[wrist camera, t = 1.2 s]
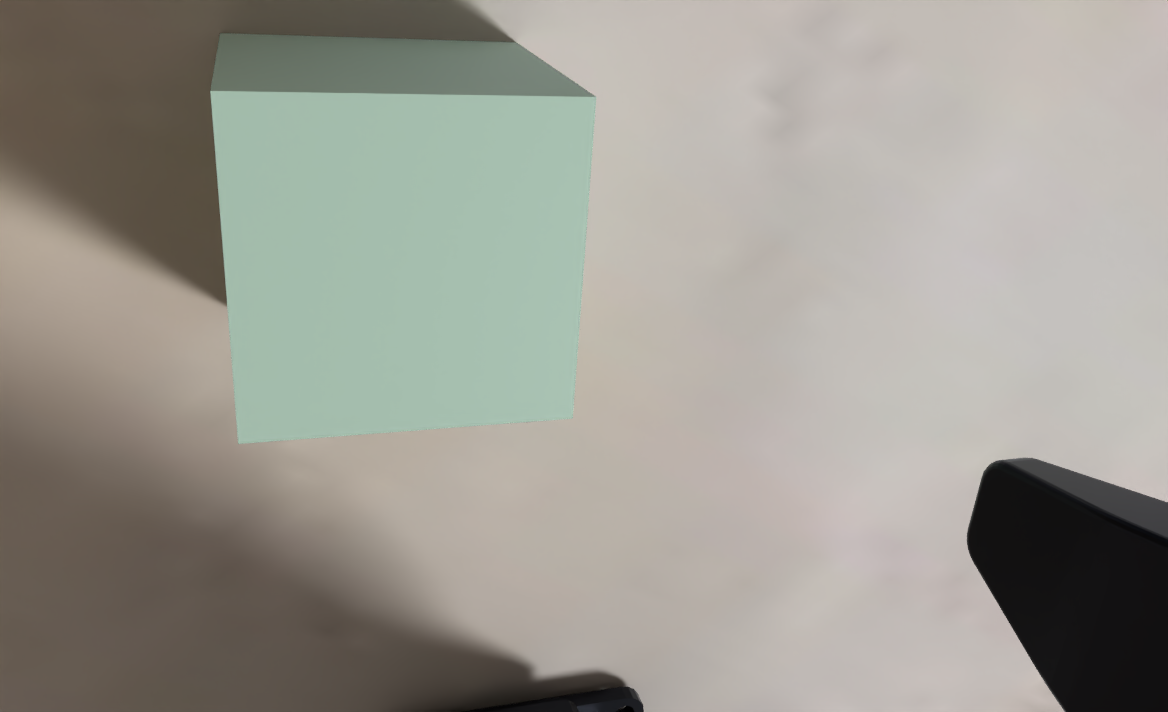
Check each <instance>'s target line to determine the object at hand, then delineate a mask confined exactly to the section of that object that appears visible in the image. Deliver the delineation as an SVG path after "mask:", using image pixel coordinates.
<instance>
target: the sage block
mask: <svg viewBox="0 0 1168 712" xmlns="http://www.w3.org/2000/svg"><path fill="white" fill-rule="evenodd" d="M210 93H211V106H212V119H213V131H214V144H215V156H216V169H217V182H218V194H219V207H220V220H221V232H222V245H223V257H224V270H225V283H226V295H227V308H228V321H229V333H230V346H231V359H232V371H233V384H234V396H235V409H236V422H237V434H238V444H243V443H256V442H270V441H283V440H296V439H309V438H322V437H335V436H348V435H361V434H375V433H388V432H401V431H414V430H427V429H440V428H453V427H467V426H480V425H493V424H506V423H519V422H532V421H545V420H558V419H572V418H573V406H574V393H575V379H576V365H577V352H578V338H579V324H580V311H581V297H582V284H583V270H584V256H585V243H586V229H587V215H588V202H589V188H590V174H591V161H592V147H593V134H594V120H595V106H596V97H595V96H594V95H593V94H591V93H590V92H588V91H587V90H585V89H584V88H582V87H581V86H579V85H578V84H576V83H575V82H574V81H572V80H571V79H569V78H568V77H566V76H565V75H563V74H562V73H560V72H559V71H557V70H556V69H554V68H553V67H552V66H550V65H549V64H547V63H546V62H544V61H543V60H541V59H540V58H538V57H537V56H535V55H534V54H533V53H531V52H530V51H528V50H527V49H525V48H524V47H522V46H521V45H519V44H518V43H516V42H492V41H459V40H427V39H394V38H361V37H329V36H296V35H264V34H231V33H220V36H219V42H218V48H217V54H216V60H215V66H214V72H213V78H212V84H211V90H210Z"/></svg>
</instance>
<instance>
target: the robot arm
mask: <svg viewBox="0 0 1168 712" xmlns="http://www.w3.org/2000/svg"><path fill="white" fill-rule="evenodd" d="M967 545H968V550H969V553H970V556H971V558H972V560H973V562H974V564H975V566H976V567H977V569H978V571H979V572H980V574H981V576H982V577H983V579H984V581H985V583H986V584H987V586H988V588H989V589H990V591H991V593H992V594H993V596H994V598H995V599H996V601H997V603H998V605H999V606H1000V608H1001V610H1002V611H1003V613H1004V615H1005V616H1006V618H1007V620H1008V621H1009V623H1010V625H1011V626H1012V628H1013V630H1014V632H1015V633H1016V635H1017V637H1018V638H1019V640H1020V642H1021V643H1022V645H1023V647H1024V648H1025V650H1026V652H1027V654H1028V655H1029V657H1030V659H1031V660H1032V662H1033V664H1034V665H1035V667H1036V669H1037V670H1038V672H1039V673H1040V675H1041V677H1042V678H1043V680H1044V681H1045V683H1046V685H1047V686H1048V688H1049V689H1050V691H1051V692H1052V694H1053V695H1054V697H1055V698H1056V700H1057V701H1058V702H1059V704H1060V705H1061V707H1062V708H1063V710H1064V711H1065V712H1168V502H1165V501H1161V500H1158V499H1155V498H1152V497H1149V496H1146V495H1143V494H1140V493H1137V492H1134V491H1131V490H1128V489H1125V488H1122V487H1119V486H1116V485H1113V484H1110V483H1107V482H1104V481H1101V480H1098V479H1095V478H1092V477H1089V476H1086V475H1083V474H1080V473H1077V472H1074V471H1071V470H1068V469H1065V468H1062V467H1059V466H1056V465H1053V464H1050V463H1047V462H1044V461H1041V460H1038V459H1034V458H1017V459H1007V460H999V461H995V462H993V463H991V464H990V465H989V466H988V467H987V468H986V470H985V471H984V473H983V476H982V479H981V482H980V486H979V490H978V493H977V497H976V501H975V505H974V508H973V512H972V516H971V520H970V523H969V527H968V532H967ZM624 706H626V707H625V708H624V709H621V710H618V709H619V708H621V707H624ZM463 712H644V710H643V704H642V702H641V700H640V698H639V696H638V694H637V692H636V691H635V690H634V689H632V688H630V687H617V688H611V689H604V690H598V691H591V692H585V693H579V694H572V695H566V696H559V697H553V698H547V699H540V700H534V701H527V702H521V703H515V704H508V705H502V706H495V707H489V708H482V709H476V710H470V711H463Z"/></svg>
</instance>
